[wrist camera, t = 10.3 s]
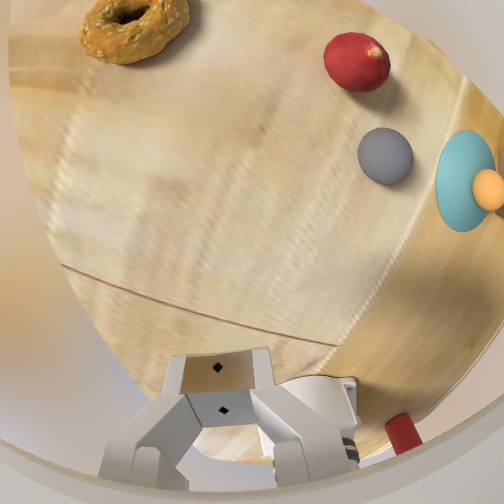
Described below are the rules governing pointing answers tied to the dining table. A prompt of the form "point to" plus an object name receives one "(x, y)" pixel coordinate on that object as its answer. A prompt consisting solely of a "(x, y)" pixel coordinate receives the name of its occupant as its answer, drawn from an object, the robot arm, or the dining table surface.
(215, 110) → the dining table surface
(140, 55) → the bagel
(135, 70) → the dining table surface
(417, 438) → the beer can
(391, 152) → the grey rubber ball
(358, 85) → the onion
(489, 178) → the orange ball
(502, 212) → the wall
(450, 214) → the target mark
